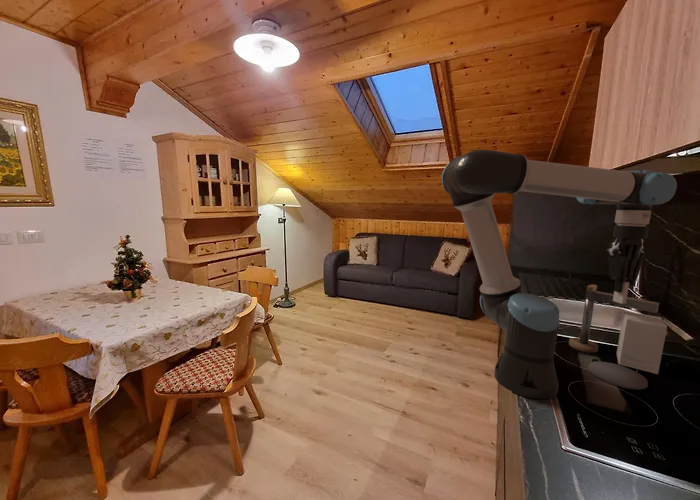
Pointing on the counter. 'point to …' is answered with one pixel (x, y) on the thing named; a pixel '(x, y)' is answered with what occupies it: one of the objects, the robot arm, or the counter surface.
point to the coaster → (618, 375)
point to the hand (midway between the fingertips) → (619, 302)
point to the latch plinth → (583, 345)
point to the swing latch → (608, 298)
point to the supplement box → (641, 341)
